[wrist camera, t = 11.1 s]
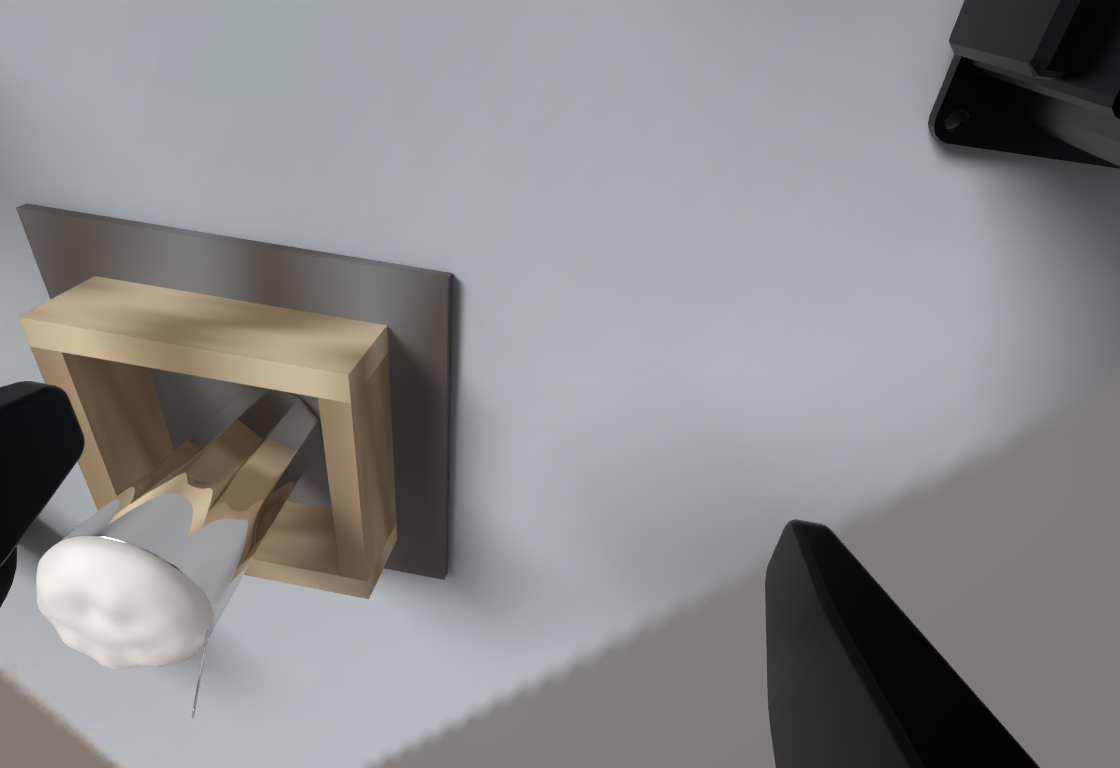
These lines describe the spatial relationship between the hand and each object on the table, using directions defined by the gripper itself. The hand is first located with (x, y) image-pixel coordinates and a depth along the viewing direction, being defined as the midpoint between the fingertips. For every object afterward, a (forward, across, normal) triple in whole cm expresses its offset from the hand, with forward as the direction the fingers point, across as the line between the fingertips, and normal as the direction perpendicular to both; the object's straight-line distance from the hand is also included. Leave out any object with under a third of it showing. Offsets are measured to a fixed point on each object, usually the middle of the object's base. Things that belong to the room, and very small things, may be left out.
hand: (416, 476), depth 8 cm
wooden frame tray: (+12, +10, +10) cm, 19 cm away
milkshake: (+12, +9, +10) cm, 18 cm away
